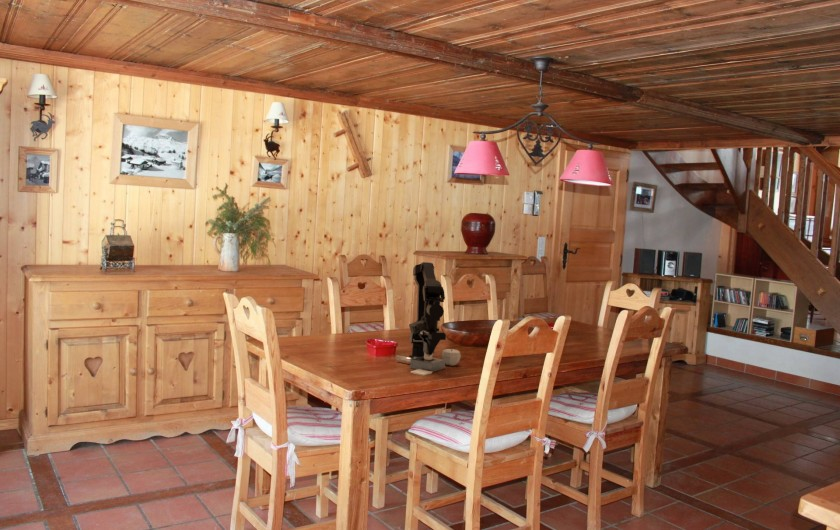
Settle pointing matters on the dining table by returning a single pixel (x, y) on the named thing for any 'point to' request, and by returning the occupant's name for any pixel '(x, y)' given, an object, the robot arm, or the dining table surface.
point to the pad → (421, 372)
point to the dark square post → (427, 352)
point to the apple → (451, 356)
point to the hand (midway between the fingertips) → (428, 353)
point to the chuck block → (424, 363)
